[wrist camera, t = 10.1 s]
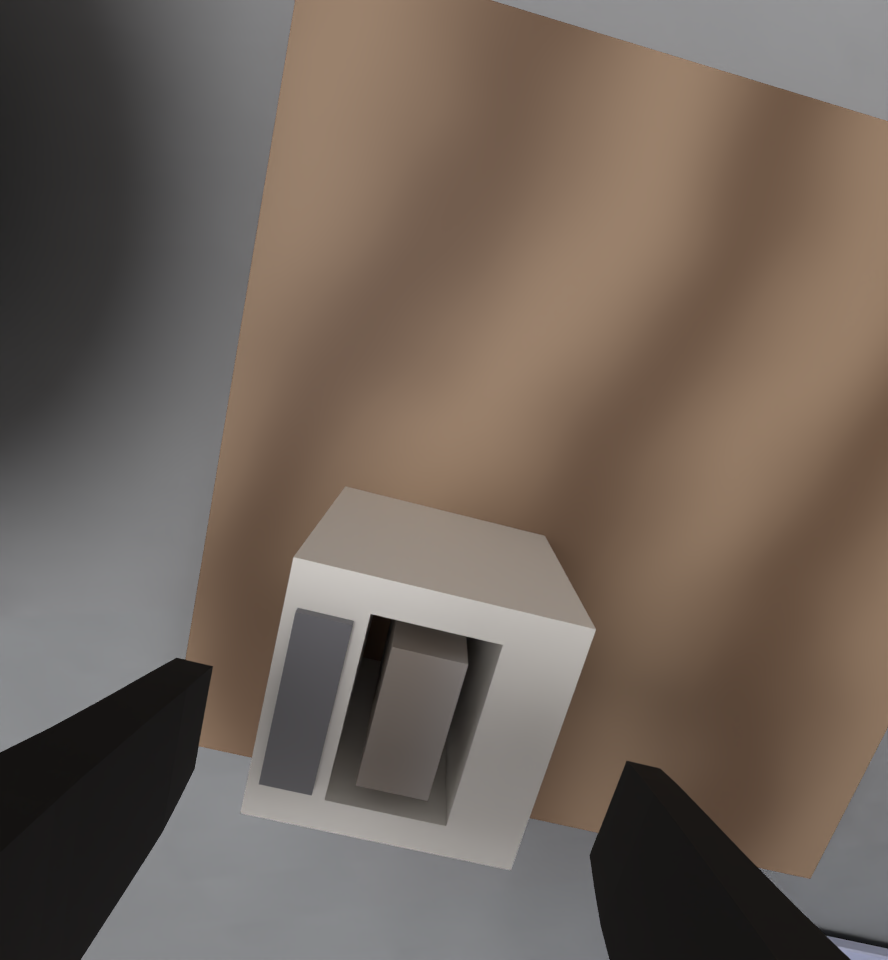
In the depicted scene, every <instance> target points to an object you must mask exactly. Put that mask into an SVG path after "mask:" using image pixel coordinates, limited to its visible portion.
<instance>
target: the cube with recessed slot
mask: <svg viewBox="0 0 888 960" xmlns="http://www.w3.org/2000/svg"><path fill="white" fill-rule="evenodd" d="M373 615H377V616H382V617H386V618H390V619H394V620H399V621H403V622H407V623H411V624H416V625H420V626H424V627H428V628H433V629H437V630H441V631H445V632H450V633H454V634H458V635H462V636H466V640H467V653H468V668H467V671H466V674H465V678H464V681H463V684H462V688H461V691H460V694H459V698H458V701H457V704H456V708H455V711H454V714H453V718H452V721H451V724H450V728H449V731H448V734H447V738H446V741H445V744H444V748H443V751H442V754H441V758H440V761H439V764H438V768H437V771H436V774H435V778H434V781H433V784H432V788H431V791H430V794H429V798H428V801H425V800H421V799H416V798H411V797H407V796H402V795H397V794H393V793H388V792H384V791H379V790H374V789H370V788H365V787H361V786H356V782H357V777H358V772H359V767H360V762H361V757H362V752H363V747H364V742H365V738H366V733H367V728H368V723H369V718H370V713H371V708H372V703H373V698H374V693H375V689H376V684H377V679H378V674H379V669H380V664H381V661H377V660H373V659H369V658H364V657H363V654H364V650H365V646H366V641H367V637H368V633H369V629H370V625H371V621H372V617H373ZM595 631H596V628H595V627H594V625H593V623H592V621H591V619H590V617H589V616H588V614H587V612H586V610H585V608H584V606H583V605H582V603H581V601H580V599H579V597H578V595H577V594H576V592H575V590H574V588H573V586H572V585H571V583H570V581H569V579H568V577H567V575H566V574H565V572H564V570H563V568H562V566H561V564H560V563H559V561H558V559H557V557H556V555H555V553H554V552H553V550H552V548H551V546H550V544H549V542H548V541H547V539H546V537H545V536H544V535H540V534H535V533H531V532H527V531H523V530H519V529H515V528H511V527H507V526H503V525H499V524H495V523H491V522H487V521H483V520H479V519H475V518H471V517H467V516H463V515H459V514H455V513H451V512H447V511H443V510H439V509H435V508H431V507H427V506H423V505H419V504H415V503H411V502H406V501H402V500H398V499H394V498H390V497H386V496H382V495H378V494H374V493H370V492H366V491H362V490H358V489H354V488H350V487H346V486H345V488H344V489H343V490H342V492H341V493H340V494H339V496H338V497H337V498H336V500H335V501H334V503H333V504H332V505H331V507H330V508H329V509H328V511H327V512H326V513H325V515H324V516H323V518H322V519H321V520H320V522H319V523H318V524H317V526H316V527H315V528H314V530H313V531H312V533H311V534H310V535H309V537H308V538H307V539H306V541H305V542H304V543H303V545H302V546H301V548H300V549H299V550H298V552H297V553H296V554H295V556H294V557H293V562H292V567H291V571H290V576H289V581H288V586H287V591H286V596H285V600H284V605H283V610H282V615H281V620H280V625H279V629H278V634H277V639H276V644H275V649H274V654H273V658H272V663H271V668H270V673H269V678H268V682H267V687H266V692H265V697H264V702H263V707H262V711H261V716H260V721H259V726H258V731H257V736H256V740H255V745H254V750H253V755H252V760H251V765H250V769H249V774H248V779H247V784H246V789H245V794H244V798H243V803H242V808H241V814H246V815H250V816H255V817H260V818H264V819H269V820H274V821H279V822H283V823H288V824H293V825H298V826H302V827H307V828H312V829H317V830H321V831H326V832H331V833H336V834H340V835H345V836H350V837H355V838H359V839H364V840H369V841H374V842H378V843H383V844H388V845H393V846H397V847H402V848H407V849H412V850H416V851H421V852H426V853H431V854H435V855H440V856H445V857H450V858H454V859H459V860H464V861H469V862H473V863H478V864H483V865H488V866H492V867H497V868H502V869H507V870H511V869H512V866H513V863H514V860H515V857H516V854H517V852H518V849H519V846H520V843H521V840H522V837H523V835H524V832H525V829H526V826H527V823H528V821H529V818H530V815H531V812H532V809H533V806H534V804H535V801H536V798H537V795H538V792H539V789H540V787H541V784H542V781H543V778H544V775H545V772H546V770H547V767H548V764H549V761H550V758H551V756H552V753H553V750H554V747H555V744H556V741H557V739H558V736H559V733H560V730H561V727H562V724H563V722H564V719H565V716H566V713H567V710H568V707H569V705H570V702H571V699H572V696H573V693H574V690H575V688H576V685H577V682H578V679H579V676H580V674H581V671H582V668H583V665H584V662H585V659H586V657H587V654H588V651H589V648H590V645H591V642H592V640H593V637H594V634H595Z"/></svg>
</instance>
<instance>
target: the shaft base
mask: <svg viewBox="0 0 888 960" xmlns="http://www.w3.org/2000/svg"><path fill="white" fill-rule="evenodd" d="M345 486H346V487H350V488H354V489H358V490H362V491H366V492H370V493H374V494H378V495H382V496H386V497H390V498H394V499H398V500H402V501H406V502H411V503H415V504H419V505H423V506H427V507H431V508H435V509H439V510H443V511H447V512H451V513H455V514H459V515H463V516H467V517H471V518H475V519H479V520H483V521H487V522H491V523H495V524H499V525H503V526H507V527H511V528H515V529H519V530H523V531H527V532H531V533H535V534H540V535H544V536H545V537H546V539H547V541H548V542H549V544H550V546H551V548H552V550H553V552H554V553H555V555H556V557H557V559H558V561H559V563H560V564H561V566H562V568H563V570H564V572H565V574H566V575H567V577H568V579H569V581H570V583H571V585H572V586H573V588H574V590H575V592H576V594H577V595H578V597H579V599H580V601H581V603H582V605H583V606H584V608H585V610H586V612H587V614H588V616H589V617H590V619H591V621H592V623H593V625H594V627H595V628H596V631H595V634H594V637H593V640H592V642H591V645H590V648H589V651H588V654H587V657H586V659H585V662H584V665H583V668H582V671H581V674H580V676H579V679H578V682H577V685H576V688H575V690H574V693H573V696H572V699H571V702H570V705H569V707H568V710H567V713H566V716H565V719H564V722H563V724H562V727H561V730H560V733H559V736H558V739H557V741H556V744H555V747H554V750H553V753H552V756H551V758H550V761H549V764H548V767H547V770H546V772H545V775H544V778H543V781H542V784H541V787H540V789H539V792H538V795H537V798H536V801H535V804H534V806H533V809H532V812H531V815H530V818H532V819H537V820H541V821H546V822H551V823H555V824H560V825H565V826H569V827H574V828H578V829H583V830H588V831H592V832H597V833H599V830H600V828H601V825H602V822H603V820H604V817H605V815H606V812H607V810H608V807H609V805H610V802H611V799H612V797H613V794H614V792H615V789H616V787H617V784H618V781H619V779H620V776H621V774H622V771H623V769H624V766H625V763H626V761H630V762H635V763H639V764H644V765H648V766H652V767H657V768H660V769H662V770H663V771H664V772H665V773H666V774H667V775H668V776H669V777H670V778H671V779H672V780H673V781H674V782H675V783H676V784H678V785H679V786H680V787H681V788H682V789H683V790H684V791H685V792H686V793H687V795H688V796H689V797H690V798H691V799H692V800H693V801H694V802H695V803H696V804H697V805H698V806H699V807H700V808H701V809H702V810H703V811H704V812H705V813H706V814H707V815H708V816H709V817H710V818H711V819H712V820H713V821H714V823H715V824H716V825H717V826H718V827H719V828H720V829H721V830H722V831H723V832H724V833H725V834H726V835H727V836H728V837H729V838H730V839H731V840H732V841H733V842H734V843H735V845H736V846H737V847H738V848H739V849H740V850H741V851H742V852H743V853H744V854H745V855H746V856H747V857H748V858H749V859H750V860H751V861H752V862H753V863H754V864H755V865H756V866H757V867H758V868H763V869H767V870H772V871H777V872H781V873H786V874H790V875H795V876H800V877H804V878H809V879H810V878H811V876H812V874H813V872H814V871H815V869H816V867H817V865H818V863H819V861H820V859H821V857H822V855H823V853H824V851H825V849H826V847H827V845H828V843H829V841H830V839H831V837H832V835H833V833H834V831H835V829H836V828H837V826H838V824H839V822H840V820H841V818H842V816H843V814H844V812H845V810H846V808H847V806H848V804H849V802H850V800H851V798H852V796H853V794H854V792H855V790H856V788H857V786H858V785H859V783H860V781H861V779H862V777H863V775H864V773H865V771H866V769H867V767H868V765H869V763H870V761H871V759H872V757H873V755H874V753H875V751H876V749H877V747H878V745H879V744H880V742H881V740H882V738H883V736H884V734H885V732H886V730H887V728H888V121H885V120H882V119H879V118H875V117H872V116H869V115H866V114H862V113H859V112H856V111H853V110H849V109H846V108H843V107H839V106H836V105H833V104H830V103H826V102H823V101H820V100H816V99H813V98H810V97H807V96H803V95H800V94H797V93H793V92H790V91H787V90H784V89H780V88H777V87H774V86H771V85H767V84H764V83H761V82H757V81H754V80H751V79H748V78H744V77H741V76H738V75H734V74H731V73H728V72H725V71H721V70H718V69H715V68H711V67H708V66H705V65H702V64H698V63H695V62H692V61H689V60H685V59H682V58H679V57H675V56H672V55H669V54H666V53H662V52H659V51H656V50H652V49H649V48H646V47H643V46H639V45H636V44H633V43H630V42H626V41H623V40H620V39H616V38H613V37H610V36H607V35H603V34H600V33H597V32H593V31H590V30H587V29H584V28H580V27H577V26H574V25H570V24H567V23H564V22H561V21H557V20H554V19H551V18H548V17H544V16H541V15H538V14H534V13H531V12H528V11H525V10H521V9H518V8H515V7H511V6H508V5H505V4H502V3H498V2H495V1H492V0H295V5H294V11H293V17H292V23H291V29H290V35H289V41H288V47H287V53H286V59H285V65H284V71H283V77H282V83H281V89H280V95H279V101H278V107H277V113H276V119H275V125H274V131H273V137H272V143H271V149H270V155H269V161H268V167H267V173H266V179H265V185H264V191H263V197H262V203H261V209H260V215H259V221H258V227H257V233H256V239H255V245H254V251H253V257H252V263H251V269H250V275H249V281H248V287H247V293H246V299H245V305H244V311H243V317H242V323H241V329H240V335H239V341H238V347H237V353H236V359H235V365H234V371H233V377H232V383H231V389H230V395H229V401H228V407H227V413H226V419H225V425H224V431H223V437H222V443H221V449H220V455H219V461H218V467H217V473H216V479H215V485H214V491H213V497H212V503H211V509H210V515H209V521H208V527H207V533H206V539H205V545H204V551H203V557H202V563H201V569H200V575H199V581H198V587H197V593H196V599H195V605H194V611H193V617H192V623H191V629H190V635H189V641H188V647H187V653H186V659H185V660H188V661H193V662H197V663H201V664H206V665H210V666H213V669H212V675H211V680H210V686H209V691H208V697H207V702H206V708H205V713H204V719H203V724H202V730H201V736H200V741H199V746H200V747H205V748H210V749H214V750H219V751H223V752H228V753H233V754H237V755H242V756H247V757H251V758H252V755H253V750H254V745H255V740H256V736H257V731H258V726H259V721H260V716H261V711H262V707H263V702H264V697H265V692H266V687H267V682H268V678H269V673H270V668H271V663H272V658H273V654H274V649H275V644H276V639H277V634H278V629H279V625H280V620H281V615H282V610H283V605H284V600H285V596H286V591H287V586H288V581H289V576H290V571H291V567H292V562H293V557H294V556H295V554H296V553H297V552H298V550H299V549H300V548H301V546H302V545H303V543H304V542H305V541H306V539H307V538H308V537H309V535H310V534H311V533H312V531H313V530H314V528H315V527H316V526H317V524H318V523H319V522H320V520H321V519H322V518H323V516H324V515H325V513H326V512H327V511H328V509H329V508H330V507H331V505H332V504H333V503H334V501H335V500H336V498H337V497H338V496H339V494H340V493H341V492H342V490H343V489H344V488H345ZM363 657H364V658H369V659H373V660H377V661H381V664H380V669H379V674H378V679H377V684H376V689H375V693H374V698H373V703H372V708H371V713H370V718H369V723H368V728H367V733H366V738H365V742H364V747H363V752H362V757H361V762H360V767H359V772H358V777H357V782H356V786H361V787H365V788H370V789H374V790H379V791H384V792H388V793H393V794H397V795H402V796H407V797H411V798H416V799H421V800H425V801H428V798H429V794H430V791H431V788H432V784H433V781H434V778H435V774H436V771H437V768H438V764H439V761H440V758H441V754H442V751H443V748H444V744H445V741H446V738H447V734H448V731H449V728H450V724H451V721H452V718H453V714H454V711H455V708H456V704H457V701H458V698H459V694H460V691H461V688H462V684H463V681H464V678H465V674H466V671H467V668H468V653H467V640H466V636H462V635H458V634H454V633H450V632H445V631H441V630H437V629H433V628H428V627H424V626H420V625H416V624H411V623H407V622H403V621H399V620H394V619H390V618H386V617H382V616H377V615H373V617H372V621H371V625H370V629H369V633H368V637H367V641H366V646H365V650H364V654H363Z"/></svg>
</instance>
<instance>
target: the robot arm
mask: <svg viewBox="0 0 888 960" xmlns="http://www.w3.org/2000/svg"><path fill="white" fill-rule="evenodd" d="M212 669H213V666H210V665H206V664H201V663H197V662H193V661H188V660H184V659H179V658H176V659H174V660H172V661H170V662H168V663H166V664H164V665H163V666H161V667H159V668H157V669H155V670H154V671H152V672H150V673H148V674H147V675H145V676H143V677H141V678H139V679H138V680H136V681H134V682H132V683H131V684H129V685H127V686H125V687H124V688H122V689H120V690H118V691H116V692H115V693H113V694H111V695H109V696H108V697H106V698H104V699H102V700H100V701H99V702H97V703H95V704H93V705H91V706H89V707H88V708H86V709H84V710H82V711H80V712H78V713H77V714H75V715H73V716H71V717H69V718H67V719H65V720H64V721H62V722H60V723H58V724H56V725H54V726H53V727H51V728H49V729H47V730H45V731H43V732H41V733H39V734H37V735H35V736H33V737H31V738H29V739H27V740H25V741H23V742H21V743H19V744H17V745H15V746H13V747H10V748H8V749H6V750H4V751H2V752H0V960H81V958H82V957H83V955H84V954H85V952H86V951H87V949H88V947H89V946H90V944H91V943H92V941H93V940H94V938H95V937H96V935H97V934H98V932H99V930H100V929H101V927H102V926H103V924H104V923H105V921H106V920H107V918H108V916H109V915H110V913H111V912H112V910H113V909H114V907H115V906H116V904H117V903H118V901H119V899H120V898H121V896H122V895H123V893H124V892H125V890H126V889H127V887H128V886H129V884H130V882H131V881H132V879H133V878H134V876H135V875H136V873H137V871H138V870H139V868H140V867H141V865H142V864H143V862H144V861H145V859H146V857H147V856H148V854H149V853H150V851H151V850H152V848H153V846H154V845H155V843H156V842H157V840H158V838H159V837H160V835H161V834H162V832H163V830H164V828H165V826H166V824H167V822H168V820H169V818H170V817H171V815H172V813H173V811H174V809H175V807H176V805H177V803H178V801H179V799H180V797H181V795H182V793H183V791H184V789H185V787H186V785H187V783H188V781H189V779H190V777H191V775H192V773H193V771H194V769H195V763H196V758H197V752H198V747H199V741H200V736H201V730H202V724H203V719H204V713H205V708H206V702H207V697H208V691H209V686H210V680H211V675H212ZM590 860H591V867H592V874H593V881H594V888H595V895H596V901H597V906H598V912H599V918H600V924H601V928H602V932H603V936H604V940H605V944H606V948H607V951H608V955H609V959H610V960H888V949H887V948H882V947H878V946H873V945H868V944H863V943H859V942H854V941H849V940H844V939H840V938H835V937H830V936H826V935H825V934H824V933H823V932H822V931H821V930H819V929H818V928H817V927H816V926H815V925H814V924H813V923H812V922H811V921H810V920H809V919H808V918H807V917H806V916H805V915H804V914H803V913H802V912H801V911H800V910H799V909H798V908H797V907H796V906H795V905H794V904H793V903H792V902H791V901H790V900H789V899H788V898H787V897H786V896H785V895H784V894H783V893H782V892H781V891H780V890H779V889H778V888H777V887H776V886H775V885H774V884H773V883H772V882H771V881H770V880H769V879H768V878H767V877H766V876H765V875H764V874H763V873H762V872H761V870H760V869H759V868H758V867H757V866H756V865H755V864H754V863H753V862H752V861H751V860H750V859H749V858H748V857H747V856H746V855H745V854H744V853H743V852H742V851H741V850H740V849H739V848H738V847H737V846H736V845H735V843H734V842H733V841H732V840H731V839H730V838H729V837H728V836H727V835H726V834H725V833H724V832H723V831H722V830H721V829H720V828H719V827H718V826H717V825H716V824H715V823H714V821H713V820H712V819H711V818H710V817H709V816H708V815H707V814H706V813H705V812H704V811H703V810H702V809H701V808H700V807H699V806H698V805H697V804H696V803H695V802H694V801H693V800H692V799H691V798H690V797H689V796H688V795H687V793H686V792H685V791H684V790H683V789H682V788H681V787H680V786H679V785H678V784H676V783H675V782H674V781H673V780H672V779H671V778H670V777H669V776H668V775H667V774H666V773H665V772H664V771H663V770H662V769H660V768H657V767H652V766H648V765H644V764H639V763H635V762H630V761H626V763H625V766H624V769H623V771H622V774H621V776H620V779H619V781H618V784H617V787H616V789H615V792H614V794H613V797H612V799H611V802H610V805H609V807H608V810H607V812H606V815H605V817H604V820H603V822H602V825H601V828H600V830H599V833H598V835H597V838H596V840H595V843H594V846H593V848H592V851H591V853H590Z"/></svg>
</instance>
